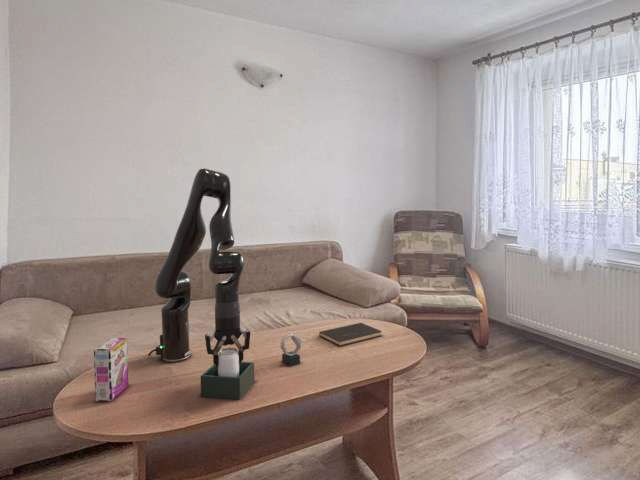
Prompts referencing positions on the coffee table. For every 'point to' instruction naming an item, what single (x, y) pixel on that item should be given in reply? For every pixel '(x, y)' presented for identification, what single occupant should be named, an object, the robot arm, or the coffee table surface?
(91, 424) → the coffee table surface
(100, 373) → the candy bar box
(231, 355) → the can
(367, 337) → the hardcover book
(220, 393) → the bin
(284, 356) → the watch
